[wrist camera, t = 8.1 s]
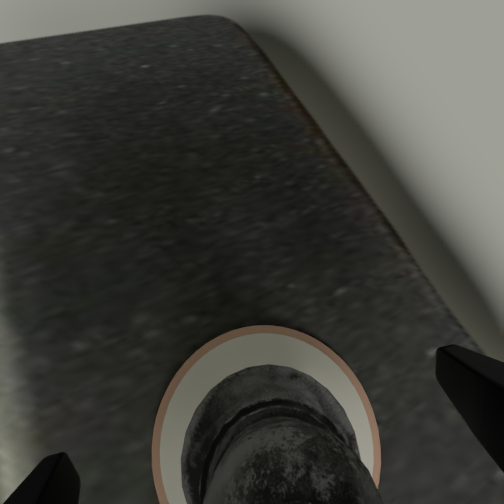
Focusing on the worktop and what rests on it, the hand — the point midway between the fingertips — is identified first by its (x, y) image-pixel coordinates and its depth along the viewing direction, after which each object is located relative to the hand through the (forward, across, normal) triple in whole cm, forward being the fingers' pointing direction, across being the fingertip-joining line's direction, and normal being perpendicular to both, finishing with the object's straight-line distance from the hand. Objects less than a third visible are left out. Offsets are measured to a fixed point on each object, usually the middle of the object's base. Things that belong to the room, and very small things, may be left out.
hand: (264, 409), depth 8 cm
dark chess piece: (+4, 0, +7) cm, 8 cm away
